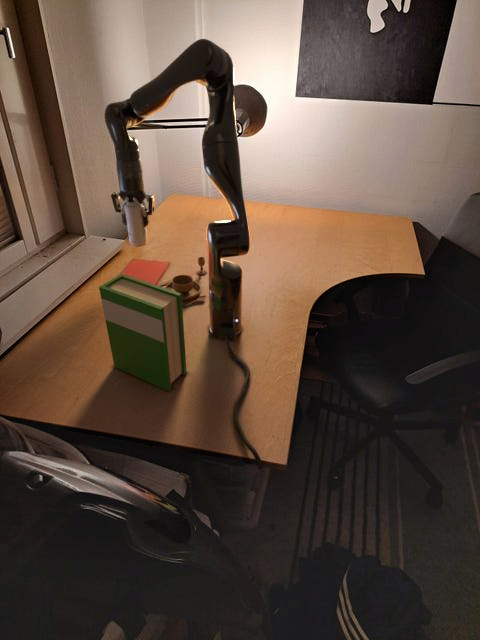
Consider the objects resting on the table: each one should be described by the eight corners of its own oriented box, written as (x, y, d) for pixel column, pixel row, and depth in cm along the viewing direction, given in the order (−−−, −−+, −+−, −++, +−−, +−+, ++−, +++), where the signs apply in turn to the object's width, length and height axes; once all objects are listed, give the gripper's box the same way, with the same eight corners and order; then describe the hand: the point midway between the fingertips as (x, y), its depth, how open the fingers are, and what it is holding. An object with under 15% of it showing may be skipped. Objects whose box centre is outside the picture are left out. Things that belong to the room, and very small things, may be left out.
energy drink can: (131, 239, 145) (125, 197, 137) (148, 239, 146) (144, 197, 137) (128, 247, 140) (122, 203, 132) (146, 247, 141) (141, 203, 132)
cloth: (152, 290, 141) (152, 289, 141) (112, 286, 143) (112, 285, 142) (169, 263, 157) (169, 262, 157) (133, 260, 159) (133, 259, 159)
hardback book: (186, 373, 108) (181, 293, 94) (169, 391, 103) (160, 309, 89) (133, 351, 115) (121, 273, 101) (114, 366, 110) (99, 287, 96)
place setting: (153, 287, 143) (152, 271, 140) (201, 270, 154) (201, 255, 150) (182, 309, 132) (181, 293, 129) (232, 289, 143) (232, 274, 139)
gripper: (102, 175, 127) (111, 228, 137) (148, 179, 126) (153, 231, 136) (112, 168, 134) (120, 219, 143) (156, 171, 132) (161, 222, 142)
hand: (136, 225), depth 139 cm, fingers closed on energy drink can, 6 cm apart
